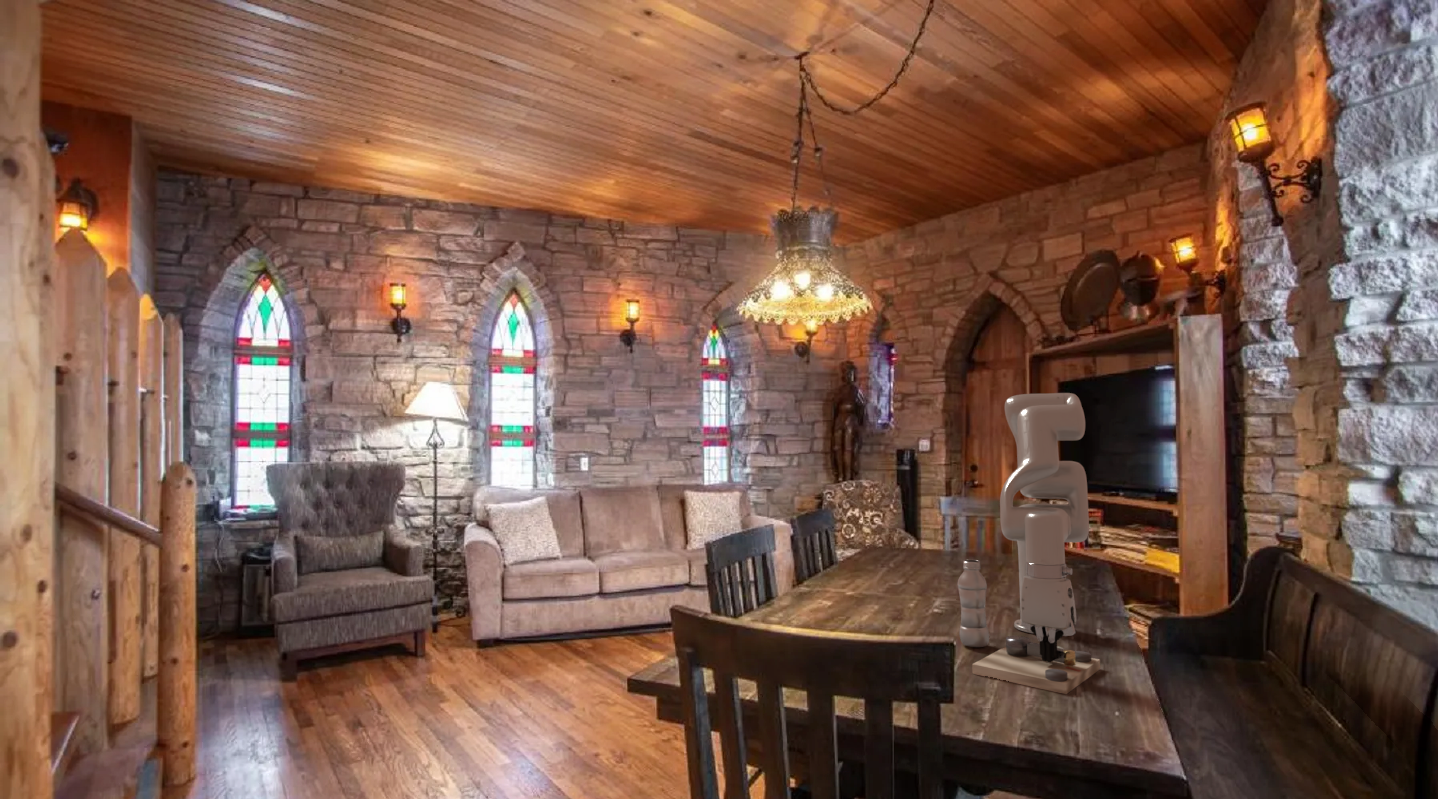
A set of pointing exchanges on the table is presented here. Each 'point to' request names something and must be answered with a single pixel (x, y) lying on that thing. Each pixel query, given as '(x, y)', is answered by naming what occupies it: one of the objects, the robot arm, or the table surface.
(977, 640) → the plastic bottle
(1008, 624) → the table surface
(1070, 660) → the grey lever handle
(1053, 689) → the plate
